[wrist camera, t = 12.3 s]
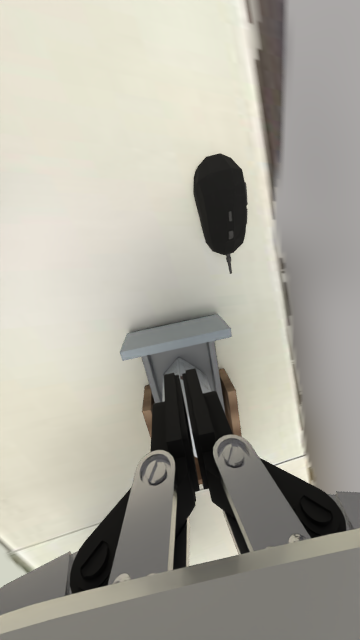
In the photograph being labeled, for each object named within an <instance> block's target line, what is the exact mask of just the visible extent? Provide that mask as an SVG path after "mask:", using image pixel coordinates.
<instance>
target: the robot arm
mask: <svg viewBox="0 0 360 640" xmlns="http://www.w3.org/2000/svg"><path fill="white" fill-rule="evenodd" d="M185 371H186V373H184V374H182V378H183V383H184V389H185V395H186V400H187V406H188V412H189V417H190V423H191V429H192V434H193V439H194V444H195V449H196V454H197V459H198V464H199V468H200V473H201V478H202V483H203V488H204V489H209V490H210V495H211V499H212V502H213V503H215V504H216V505H217V506H219V507H220V508H221V509H223V514H224V516H225V519H226V522H227V525H228V527H229V530H230V533H231V535H232V538H233V541H234V543H235V546H236V549H237V551H238V554H239V555H236V556H232V557H227V558H223V559H219V560H214V561H210V562H206V563H201V564H197V565H193V566H189V535H190V521H189V515H190V513H191V512H192V510H193V508H194V507H195V501H196V496H195V491H200V489H199V483H198V477H197V471H196V465H195V458H194V452H193V446H192V440H191V434H190V428H189V422H188V417H187V412H186V407H185V402H184V397H183V393H182V388H181V383H180V378H179V375H175V374H174V373H170V374H165V375H164V393H165V401H164V402H159V403H154V404H153V408H152V432H151V452H150V453H148V454H147V455H145V456H144V457H143V458H142V459H141V461H140V462H139V464H138V466H137V468H136V471H135V475H134V480H133V484H132V487H131V488H130V490H129V491H128V492H127V493H126V494H125V495H124V497H123V498H122V499H121V500H120V501H119V502H118V504H117V505H116V506H115V507H114V508H113V509H112V511H111V512H110V513H109V514H108V515H107V516H106V518H105V519H104V520H103V521H102V522H101V523H100V525H99V526H98V527H97V528H96V529H95V530H94V532H93V533H92V534H91V535H90V536H89V537H88V539H87V540H86V541H85V542H84V544H83V545H82V546H81V548H80V549H79V551H77V552H75V553H73V554H71V552H68V553H66V554H64V555H62V556H60V557H58V558H56V559H54V560H52V561H50V562H48V563H46V564H44V565H43V566H41V567H39V568H37V569H35V570H33V571H31V572H29V573H27V574H25V575H23V576H21V577H19V578H17V579H15V580H14V581H11V582H10V583H8V584H6V585H4V586H3V587H1V588H0V640H360V493H358V492H337V491H336V495H330V494H326V493H325V492H323V491H322V490H320V489H318V488H317V487H315V486H313V485H311V484H309V483H307V482H305V481H303V480H301V479H299V478H297V477H295V476H294V475H292V474H290V473H288V472H286V471H284V470H282V469H280V468H278V467H276V466H274V465H272V464H270V463H269V462H267V461H265V460H263V459H261V458H259V457H258V455H257V454H256V452H255V450H254V449H253V447H252V446H251V444H250V443H249V442H248V441H247V440H246V439H244V438H243V437H240V436H237V435H233V433H232V430H231V428H230V425H229V423H228V420H227V417H226V415H225V412H224V410H223V407H222V405H221V402H220V400H219V397H218V394H217V392H216V391H212V392H207V393H203V392H202V389H201V386H200V382H199V379H198V375H197V372H196V369H195V368H194V369H189V370H185Z"/></svg>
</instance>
